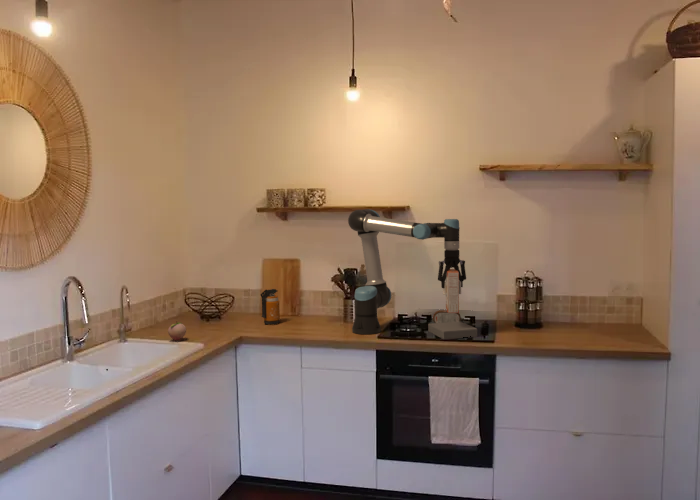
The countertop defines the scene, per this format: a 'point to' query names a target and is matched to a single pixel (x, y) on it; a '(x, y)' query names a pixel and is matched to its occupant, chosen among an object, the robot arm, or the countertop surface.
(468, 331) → the podium
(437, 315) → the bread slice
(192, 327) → the countertop surface
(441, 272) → the robot arm
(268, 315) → the canister
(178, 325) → the decorative fruit
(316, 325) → the countertop surface
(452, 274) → the cracker box
